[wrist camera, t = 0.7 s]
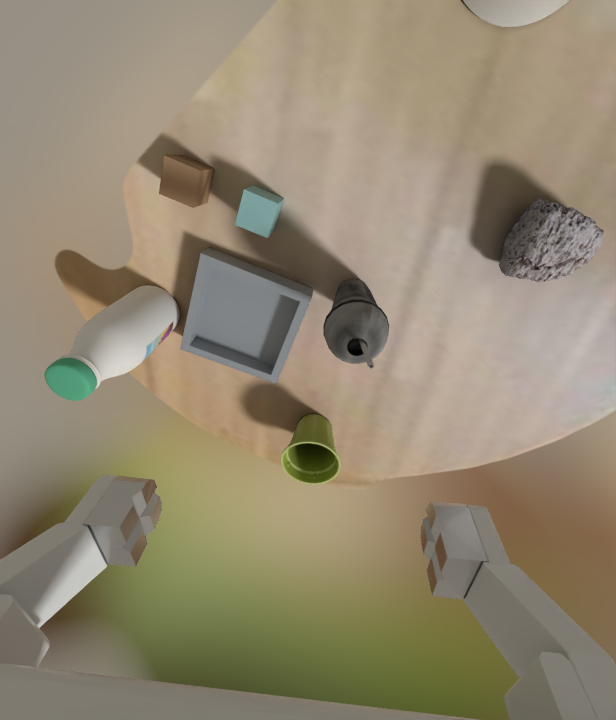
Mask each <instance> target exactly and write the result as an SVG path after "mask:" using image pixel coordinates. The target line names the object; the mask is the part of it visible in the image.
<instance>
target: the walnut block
mask: <svg viewBox="0 0 616 720" xmlns="http://www.w3.org/2000/svg"><path fill="white" fill-rule="evenodd" d="M213 174H214V168H211V167H209V166H207V165H204V164H202V163H200V162H197V161H195V160H193V159H190V158H188V157H186V156H183V155H164V161H163V168H162V176H161V183H160V190H159V194H161V195H164V196H166V197H168V198H171V199H173V200H176V201H178V202H181V203H183V204H185V205H188V206H190V207H193V208H194V207H197V206H199V205H202V204H205V203H207V202H208V198H209V193H210V188H211V183H212V179H213Z"/></svg>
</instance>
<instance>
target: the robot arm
mask: <svg viewBox="0 0 616 720" xmlns="http://www.w3.org/2000/svg"><path fill="white" fill-rule="evenodd" d="M463 1H464V3H465V4H466V5H467V7H468V8H469V9H470V10H471V11H472V12H473V13H474V14H475V15H477V16H478V17H479V18H481V19H482V20H484V21H486V22H488V23H491V24H494V25H497V26H503V27H517V26H523V25H527V24H530V23H533V22H536V21H538V20H541V19H543V18H545V17H547V16H548V15H550V14H552V13H553V12H555V11H556V10H558V9H559V8H561V7H562V6H563V5H564V4H566V3H567V2H568V1H570V0H463ZM156 488H157V486H156V484H155V481H154V480H152V479H143V478H133V477H124V476H114V475H102V476H101V477H99V478H98V479H97V480H96V481H95V483H94V484H93V485H92V487H91V488H90V489H89V490H88V492H87V493H86V494H85V496H84V497H83V498H82V500H81V501H80V502H79V504H78V505H77V506H76V508H75V509H74V510H73V512H72V513H71V514H70V516H69V517H68V518H67V520H66V521H65V522H64V523H58V524H57V525H55V526H53V527H52V528H50V529H49V530H47V531H45V532H44V533H42V534H41V535H39V536H37V537H36V538H34V539H33V540H31V541H29V542H28V543H26V544H25V545H23V546H22V547H20V548H19V549H17V550H15V551H14V552H12V553H11V554H9V555H7V556H6V557H4V558H3V559H1V560H0V720H476V719H468V718H460V717H451V716H443V715H434V714H426V713H418V712H409V711H401V710H393V709H384V708H376V707H367V706H359V705H350V704H342V703H334V702H325V701H317V700H308V699H299V698H291V697H283V696H274V695H265V694H258V693H249V692H241V691H231V690H224V689H215V688H207V687H198V686H190V685H182V684H173V683H165V682H156V681H148V680H139V679H131V678H123V677H114V676H106V675H105V676H104V675H97V674H89V673H80V672H72V671H64V670H55V669H46V668H38V665H39V664H40V662H41V660H42V658H43V657H44V655H45V653H46V651H47V650H48V648H49V640H48V639H47V637H46V636H45V635H44V634H43V633H42V631H41V630H40V629H39V627H40V626H41V625H43V624H44V623H45V622H46V621H47V620H48V619H49V618H50V617H52V616H53V615H54V614H55V613H56V612H57V611H58V610H59V609H60V608H61V607H62V606H64V605H65V604H66V603H67V602H68V601H69V600H70V599H71V598H73V596H75V595H76V594H77V593H78V592H79V591H80V590H81V589H82V588H84V587H85V586H86V585H87V584H88V583H89V582H90V581H91V580H92V579H93V578H95V577H96V576H97V575H98V574H99V573H100V572H101V571H102V570H103V569H104V568H106V567H107V565H106V564H110V565H125V566H136V565H137V563H138V561H139V559H140V557H141V555H142V553H143V551H144V549H145V547H146V545H147V539H146V535H148V534H149V533H150V532H151V531H153V530H154V529H155V527H156V525H157V523H158V521H159V518H160V513H161V499H160V497H159V496H158V495H157V494H156V493H155V489H156ZM426 512H427V515H428V517H426V518H425V519H423V522H422V526H421V544H422V550H423V554H424V555H425V556H426V557H427V559H428V560H429V561H430V562H429V565H428V568H427V574H428V579H429V583H430V588H431V592H432V596H440V597H448V598H456V599H464V602H465V604H466V605H467V606H468V608H469V609H470V611H471V612H472V613H473V615H474V616H475V617H476V619H477V620H478V622H479V623H480V624H481V626H482V627H483V628H484V630H485V631H486V633H487V634H488V635H489V637H490V638H491V640H492V641H493V642H494V644H495V645H496V647H497V648H498V649H499V651H500V652H501V654H502V655H503V656H504V658H505V659H506V660H507V662H508V663H509V665H510V666H511V667H512V669H513V670H514V671H515V673H516V674H517V676H518V677H519V679H518V681H517V682H516V683H515V684H514V685H513V686H512V688H511V689H510V690H509V691H508V692H507V694H506V696H505V697H504V699H505V703H506V706H507V710H508V713H509V716H510V720H616V665H615V663H614V661H613V659H612V657H611V656H610V655H608V654H607V653H606V652H605V651H604V650H603V649H602V648H601V647H600V646H599V645H598V644H597V643H596V642H595V641H594V640H593V639H592V638H591V637H590V636H589V635H588V634H587V633H586V632H585V631H584V630H583V629H582V628H581V627H580V626H579V625H578V624H577V623H576V622H574V621H573V620H572V619H571V618H570V617H569V616H568V615H567V614H566V613H565V612H564V611H563V610H562V609H561V608H560V607H559V606H558V605H557V604H556V603H555V602H554V601H553V600H552V599H551V598H550V597H549V596H548V595H546V594H545V593H544V591H543V590H541V589H540V588H539V587H538V586H537V585H536V584H535V583H534V582H533V581H532V580H531V579H530V578H529V577H528V576H527V575H526V574H525V573H524V572H523V571H522V570H521V569H520V568H519V567H518V566H517V565H511V564H510V562H509V559H508V557H507V554H506V552H505V550H504V547H503V545H502V543H501V540H500V538H499V536H498V533H497V531H496V528H495V526H494V524H493V521H492V519H491V516H490V514H489V512H488V510H487V509H486V507H484V506H474V505H465V504H453V503H438V502H430V503H429V504H428V506H427V509H426Z"/></svg>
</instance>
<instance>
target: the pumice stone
mask: <svg viewBox="0 0 616 720" xmlns="http://www.w3.org/2000/svg"><path fill="white" fill-rule="evenodd" d="M603 234H604V231H603V230H601V229H600V228H599V227H597V226H596V225H595V221H594V220H592V219H591V218H589V217H586V216H584V215H583V214H582V213H580V212H579V211H577V210H575V209H573V208H572V207H571V208H567V207H565V206H564V205H560V204H558V203H556V202H549V201H547V200H544V199H541V198H539V197H538V198H536V200H535V201H534V202H533V203H532V204H531V206H529V207H528V208H527V209H526V211H525V213H524V214H523V215H522V216H521V217H519V218H518V220H517V222H516V224H515V225H514V227H513V228H512V229H511V231H510V233H509V234H508V235H507V237H506V239H505V242H504V244H503V245H504V249H503V254H502V258H501V259H500V263H499V267H500V269H501V271H502V273H504V274H505V275H506V276H510V277H515V278H520V279H530V280H535V281H537V282H542V281H546V280H553V279H559V278H561V277H562V276H567V275H568V274H572V273H573V272H574V271H576V270H577V269H578V268H581V267H583V266H584V265H585V264H586V263H588V262H589V261H590V260H591V259H592V257H593V256H594V255H595V253H596V251H597V249H598V248H599V247H600V246H601V244H602V239H603Z"/></svg>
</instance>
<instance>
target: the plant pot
mask: <svg viewBox="0 0 616 720" xmlns="http://www.w3.org/2000/svg"><path fill="white" fill-rule="evenodd" d="M281 465H282V468H283V470H284V471H285V472H286V474H287V475H288V476H289V477H291V478H292V479H294V480H296V481H298V482H301V483H304V484H310V485H315V484H316V485H318V484H323V483H326V482H329V481H330V480H332V479H333V478H335V477H336V476H337V474H338V473H339V471H340V466H341V465H340V459H339V457H338V455H337V453H336V451H335V447H334V440H333V433H332V426H331V423H330V422H329V421H328V420H326V419H325V418H324V417H323V416H320V415H316V414H311V415H307V416H304V417H303V418H302V419H301V420H300V421H299V422H298V425H297V427H296V430H295V432H294V435H293V438H292V440H291V443H290V444H289V445H288V447H287V448H286V449H285V450H284V451H283V453H282V456H281Z"/></svg>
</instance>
